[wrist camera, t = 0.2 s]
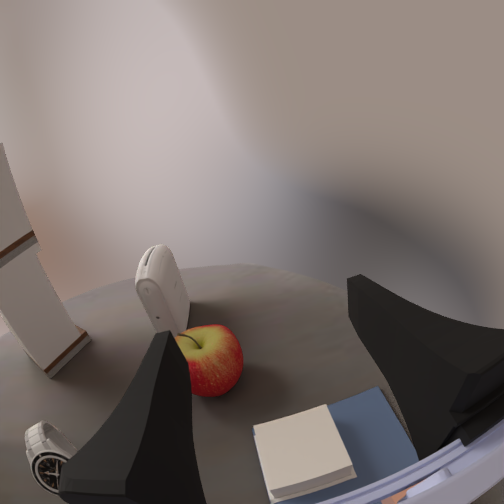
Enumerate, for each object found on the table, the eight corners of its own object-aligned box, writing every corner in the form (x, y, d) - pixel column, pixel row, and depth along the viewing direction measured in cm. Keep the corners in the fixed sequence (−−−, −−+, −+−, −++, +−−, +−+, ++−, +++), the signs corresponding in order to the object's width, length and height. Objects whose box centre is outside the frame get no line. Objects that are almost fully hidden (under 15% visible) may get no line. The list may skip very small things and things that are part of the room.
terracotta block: (436, 510, 15) (451, 499, 13) (395, 531, 15) (405, 525, 13) (419, 478, 18) (431, 463, 17) (379, 497, 18) (386, 486, 16)
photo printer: (186, 342, 43) (154, 270, 37) (159, 346, 43) (124, 277, 37) (193, 299, 52) (169, 234, 46) (170, 304, 52) (144, 240, 46)
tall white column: (91, 339, 46) (2, 142, 30) (50, 379, 39) (-59, 175, 22) (64, 323, 52) (-11, 157, 36) (28, 355, 45) (-60, 185, 28)
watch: (95, 524, 18) (21, 484, 13) (72, 472, 24) (10, 421, 19) (134, 504, 21) (67, 460, 16) (105, 453, 27) (48, 398, 22)
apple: (171, 391, 35) (136, 335, 30) (214, 349, 40) (190, 290, 36) (220, 422, 30) (188, 366, 25) (264, 370, 36) (246, 308, 31)
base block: (350, 474, 21) (352, 464, 20) (275, 498, 21) (269, 490, 19) (326, 418, 27) (325, 403, 26) (259, 438, 27) (253, 425, 25)
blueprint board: (452, 520, 14) (454, 519, 13) (294, 585, 13) (294, 586, 12) (377, 388, 29) (377, 385, 29) (252, 430, 28) (251, 428, 28)
